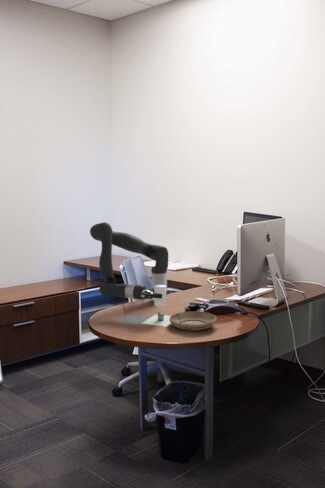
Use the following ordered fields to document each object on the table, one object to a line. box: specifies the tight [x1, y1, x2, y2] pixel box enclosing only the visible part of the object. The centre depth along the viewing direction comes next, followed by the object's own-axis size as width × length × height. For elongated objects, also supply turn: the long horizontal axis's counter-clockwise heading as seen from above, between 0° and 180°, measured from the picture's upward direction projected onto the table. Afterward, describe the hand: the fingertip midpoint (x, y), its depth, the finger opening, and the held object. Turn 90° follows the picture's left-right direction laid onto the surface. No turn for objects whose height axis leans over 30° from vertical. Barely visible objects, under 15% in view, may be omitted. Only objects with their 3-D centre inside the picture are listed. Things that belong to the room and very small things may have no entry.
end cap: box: [187, 302, 210, 313], centre depth 275 cm, size 10×7×7 cm
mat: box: [115, 313, 151, 326], centre depth 269 cm, size 16×12×1 cm
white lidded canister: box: [153, 285, 167, 307], centre depth 265 cm, size 6×6×10 cm
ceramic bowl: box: [169, 311, 217, 331], centre depth 256 cm, size 23×24×5 cm
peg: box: [157, 311, 165, 321], centre depth 267 cm, size 3×3×4 cm
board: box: [140, 313, 172, 328], centre depth 267 cm, size 18×14×1 cm
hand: (164, 294), depth 264 cm, fingers closed on white lidded canister, 6 cm apart
